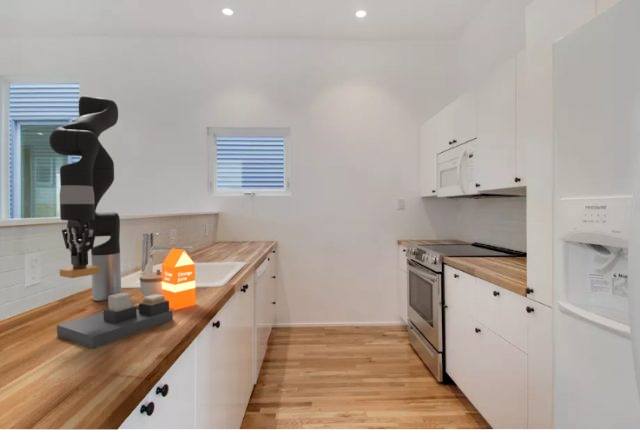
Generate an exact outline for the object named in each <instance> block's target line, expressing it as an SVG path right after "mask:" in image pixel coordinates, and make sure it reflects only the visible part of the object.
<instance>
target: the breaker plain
mask: <svg viewBox="0 0 640 430" xmlns="http://www.w3.org/2000/svg"><path fill="white" fill-rule="evenodd" d="M107 301H108V302H107V303H108V308H109V310H110V311H114V312H118V311H121V310H125V309H128V308H131V304H132V294H131V293H127V292H121V293H118V294H114V295H110V296H108V300H107Z"/></svg>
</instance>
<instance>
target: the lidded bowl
mask: <svg viewBox="0 0 640 430" xmlns="http://www.w3.org/2000/svg"><path fill="white" fill-rule="evenodd" d="M139 281H140V283H139V285H140V291H141V293H142V295H143V297H147V296H150V295H154V294H159V295H163V294H162V271H161V269H157V270H156V272H150V273H146V274H143V275H141V276H139Z"/></svg>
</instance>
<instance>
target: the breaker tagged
mask: <svg viewBox="0 0 640 430" xmlns="http://www.w3.org/2000/svg"><path fill="white" fill-rule="evenodd" d="M164 300H165V297H164V295H159V294H154V295H150V296H147V297H145V296H143V299H142V302H144V304H148V305H154V304H158V303H161V302H164Z"/></svg>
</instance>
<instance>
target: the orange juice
mask: <svg viewBox="0 0 640 430" xmlns="http://www.w3.org/2000/svg"><path fill="white" fill-rule="evenodd" d="M161 272H162V294H163V295H164V297H165V300H168V301H169V309H170V310H175V311H177V310H180V309H184V308H187V307H191V306H195V305H196V303H197V302H196V300H197V299H196V264H195V262H194V261H193V260H192V258H191V257H190V256H189V254H188V252H186V250H185V249H180V248H174V247H173V248H171V250H169V253H168V254H167V256H166V257H165V259H164V261H163V263H162V264H161Z"/></svg>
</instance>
